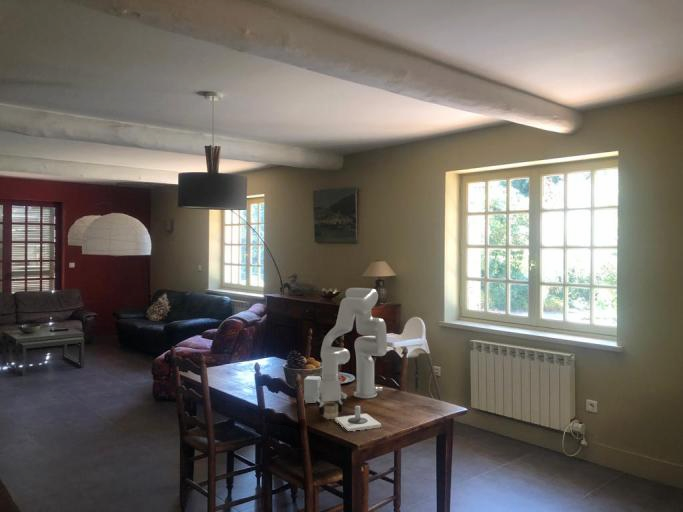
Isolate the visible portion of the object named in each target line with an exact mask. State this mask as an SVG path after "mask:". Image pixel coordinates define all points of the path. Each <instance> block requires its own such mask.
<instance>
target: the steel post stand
mask: <svg viewBox="0 0 683 512" xmlns="http://www.w3.org/2000/svg"><path fill="white" fill-rule="evenodd" d="M334 421H335V422H336V423H337V424H338V423H339V424H340V425H341V426H340V425H339V424H338V425H339V426H340V427H342V428H343V427H344V428H345V429H346V430H347V431H353V432H357V431H356V430H360V431H366V430H365V429H367V430H373V428H374V429H380V427H381V428H382V423H380V422H379V421H377V420H376V418H375V419H374V418H373V417H372V416H371V415H370V414H368V413H361V405H355V406H354V414H353V415H351V414H350V415H344V416H338V417H336V418H335V419H334ZM344 428H343V429H344ZM345 429H344V430H345ZM346 430H345V431H346ZM347 431H346V432H347Z"/></svg>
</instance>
